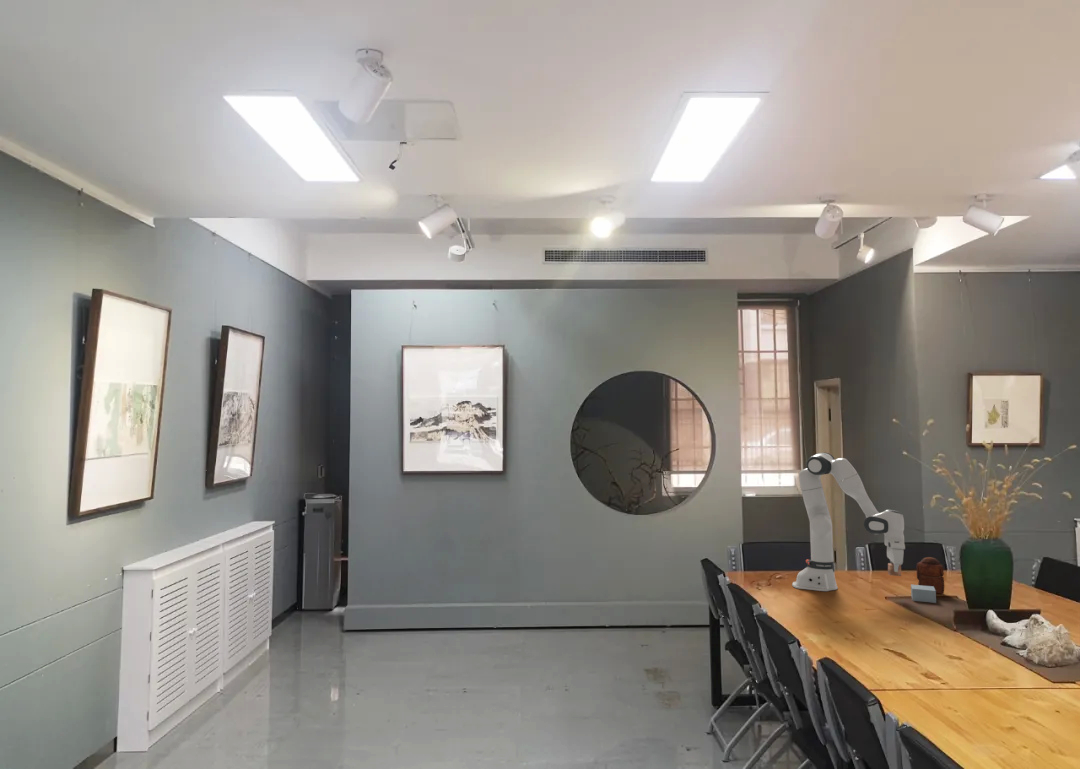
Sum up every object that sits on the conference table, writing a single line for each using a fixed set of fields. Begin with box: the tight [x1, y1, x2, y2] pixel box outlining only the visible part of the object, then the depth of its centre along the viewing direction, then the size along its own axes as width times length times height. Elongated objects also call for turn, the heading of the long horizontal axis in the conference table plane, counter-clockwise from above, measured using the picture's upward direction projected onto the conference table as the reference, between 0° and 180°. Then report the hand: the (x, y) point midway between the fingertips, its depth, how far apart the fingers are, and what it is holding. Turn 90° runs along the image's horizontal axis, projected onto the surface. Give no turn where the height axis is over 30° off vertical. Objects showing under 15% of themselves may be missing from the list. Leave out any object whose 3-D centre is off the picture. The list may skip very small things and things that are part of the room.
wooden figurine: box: [916, 556, 945, 595], centre depth 341 cm, size 12×6×18 cm, turn 72°
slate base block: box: [910, 584, 937, 604], centre depth 327 cm, size 10×10×6 cm
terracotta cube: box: [887, 562, 902, 577], centre depth 331 cm, size 5×5×5 cm
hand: (894, 570), depth 331 cm, fingers closed on terracotta cube, 5 cm apart
